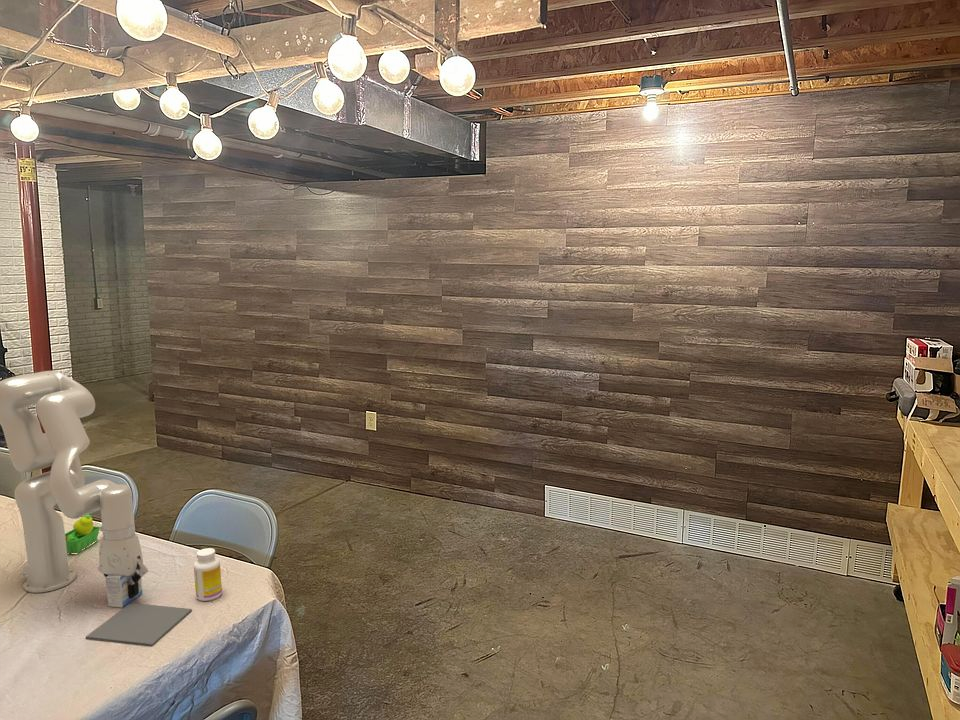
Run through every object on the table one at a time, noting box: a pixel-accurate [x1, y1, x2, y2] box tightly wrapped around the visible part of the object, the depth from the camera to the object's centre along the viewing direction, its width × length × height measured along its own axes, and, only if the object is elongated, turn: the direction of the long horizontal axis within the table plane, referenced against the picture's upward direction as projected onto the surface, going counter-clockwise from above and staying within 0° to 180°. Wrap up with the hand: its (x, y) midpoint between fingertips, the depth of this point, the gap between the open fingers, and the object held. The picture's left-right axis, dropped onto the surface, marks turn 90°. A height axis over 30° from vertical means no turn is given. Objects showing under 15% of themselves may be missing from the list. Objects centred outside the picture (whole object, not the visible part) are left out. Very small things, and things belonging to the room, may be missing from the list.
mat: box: [85, 602, 193, 647], centre depth 169 cm, size 18×16×1 cm
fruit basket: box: [65, 514, 101, 554], centre depth 211 cm, size 11×9×11 cm
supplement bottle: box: [193, 547, 223, 602], centre depth 182 cm, size 7×7×13 cm
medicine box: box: [105, 569, 143, 609], centre depth 180 cm, size 8×4×9 cm, turn 169°
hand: (125, 594), depth 181 cm, fingers closed on medicine box, 4 cm apart
